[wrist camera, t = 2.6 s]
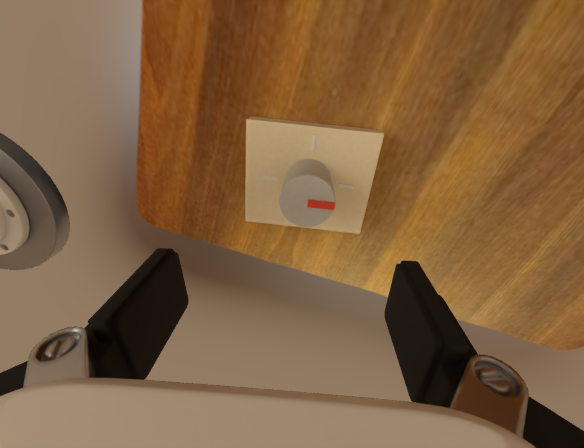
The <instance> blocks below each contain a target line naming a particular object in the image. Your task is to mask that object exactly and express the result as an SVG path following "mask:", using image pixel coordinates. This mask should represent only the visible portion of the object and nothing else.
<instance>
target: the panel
mask: <svg viewBox="0 0 584 448" xmlns="http://www.w3.org/2000/svg"><path fill="white" fill-rule="evenodd" d="M383 138H384V133H382V132H381V131H379V130H377V129H368V128H358V127H349V126H339V125H330V124H320V123H311V122H301V121H292V120H283V119H273V118H264V117H254V116H252V117H250V118H247V119H246V192H245V221H250V222H259V223H267V224H276V225H285V226H294V227H302V226H298V225H296V224H293V223H292V222H290V221H289V220H288V219H287V218H286V217H285V216H284V215H283V213H282V211H281V209H280V205H279V197H280V193H281V190H282V186H283V183H284V179H285V176H286V173H287V171H288V169H289V168H290V167H291V166H292V165H293V164H294V163H296V162H298V161H300V160H303V159H313V160H317V161H319V162H321V163H322V164H323V165H325V166H326V168H327V169H328V170H329V172H330V175H331V179H332V184H333V189H334V193H335V200H336V202H335V209H334V210H333V213H332V214H331V216H330V217H329V218H328V219H327V220H326V221H324V222H323V223H321V224H319V225H316V226H312V227H303V228H312V229H321V230H329V231H338V232H347V233H356V234H360V230H361V226H362V222H363V218H364V214H365V210H366V206H367V202H368V198H369V194H370V190H371V186H372V182H373V178H374V174H375V170H376V166H377V162H378V158H379V154H380V150H381V146H382V142H383Z"/></svg>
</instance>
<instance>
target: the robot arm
mask: <svg viewBox="0 0 584 448" xmlns="http://www.w3.org/2000/svg"><path fill="white" fill-rule="evenodd" d="M29 229H30V225H29V220H28V216H27V213H26V211H25V208H24V206H23V204H22V203H21V201H20V199H19V198H18V196H17V195H16V194H15V192H14V191H13V190H12V189H11V187H10V186H9V185H8V184H7V183H6V182H5V181H4V180H3V179H2V178H1V177H0V255H4V254H7V253H10V252H12V251H14V250H16V249H17V248H19V247H21V246H22V245H23V244H24V243H25V242H26V241H27V238H28V236H29ZM187 305H188V295H187V291H186V286H185V282H184V278H183V273H182V269H181V265H180V261H179V256H178V254H177V253H176V252H174V250H173V249H163V248H159V249H157V250H156V251H155V252H154V253H153V254H152V255H151V256H150V257H149V258H148V259H147V260H146V261H145V262H144V263H143V264H142V265H141V266H140V267H139V268H138V269H137V270H136V271H135V273H134V274H133V275H132V276H131V277H130V278H129V279H128V280H127V281H126V282H125V283H124V284H123V285H122V286H121V287H120V288H119V289H118V290H117V291H116V292H115V293H114V294H113V295H112V296H111V297H110V298H109V299H108V301H107V302H106V303H105V304H104V305H103V306H102V307H101V308H100V309H99V310H98V311H97V312H96V313H95V314H94V315H93V316H92V317H91V318H90V319H89V320H88V323H89V324H88V325H87V326H86V327H85V329H83V328H82V327H68V328H64V329H61V330H58V331H56V332H54V333H52V334H50V335H49V336H47V337H45V338H44V339H42V340H41V341H40V342H39V343H38V344H37V345H36V346H35V347H34V348H33V350H32V351H31V353H30V355H29V357H28V361H26V362H24V363H22V364H19V365H17V366H15V367H13V368H11V369H9V370H6V371H4V372H2V373H0V448H584V431H583V430H581V429H579V428H578V427H576V426H575V425H573V424H572V423H570V422H568V421H567V420H565V419H564V418H562V417H560V416H559V415H557V414H556V413H554V412H553V411H551V410H550V409H548V408H546V407H545V406H543V405H542V404H540V403H538V402H537V401H535V400H534V399H532V398H531V397H529V393H528V388H527V386H526V383H525V381H524V380H523V379H522V378H521V376H520V375H519V374H518V373H517V372H516V371H515V370H514V369H513V368H512V367H510V366H509V365H507V364H506V363H504V362H503V361H501V360H498V359H497V358H494V357H492V356H487V355H478V354H477V352H476V351H475V349H474V348H473V346H472V344H471V343H470V341H469V339H468V338H467V336H466V335H465V333H464V331H463V330H462V328H461V326H460V325H459V323H458V322H457V320H456V318H455V317H454V315H453V314H452V312H451V310H450V309H449V307H448V305H447V304H446V302H445V301H444V299H443V298H442V297H441V296H440V295H438V294H437V292H436V291H435V289H434V287H433V286H432V284H431V283H430V281H429V279H428V278H427V276H426V274H425V273H424V271H423V269H422V268H421V266H420V264H419V263H418V262H417V261H402V262H401V263H400V264H397V265H396V268H395V272H394V276H393V280H392V284H391V288H390V292H389V296H388V300H387V304H386V308H385V320H386V323H387V326H388V329H389V333H390V336H391V339H392V342H393V345H394V348H395V352H396V355H397V358H398V361H399V365H400V367H401V370H402V374H403V377H404V380H405V384H406V387H407V390H408V393H409V396H410V399H411V401H412V402H405V401H396V400H386V399H375V398H366V397H354V396H343V395H330V394H319V393H306V392H296V391H283V390H271V389H258V388H245V387H233V386H220V385H207V384H193V383H180V382H166V381H153V380H144V379H145V378H146V377H147V375H148V374H149V372H150V371H151V369H152V367H153V365H154V364H155V362H156V360H157V358H158V357H159V355H160V353H161V351H162V350H163V348H164V346H165V344H166V343H167V341H168V339H169V337H170V336H171V334H172V332H173V330H174V329H175V327H176V325H177V323H178V322H179V320H180V318H181V316H182V315H183V313H184V311H185V309H186V308H187ZM415 402H416V403H415Z"/></svg>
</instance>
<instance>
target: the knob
mask: <svg viewBox="0 0 584 448" xmlns="http://www.w3.org/2000/svg"><path fill="white" fill-rule="evenodd" d="M335 202H336V200H335V193H334V189H333V184H332V179H331V175H330V172H329V170H328V169H327V168H326V166H325V165H323V164H322V163H321V162H319V161H317V160H313V159H303V160H300V161H298V162H296V163H294V164H293V165H292V166H291V167H290V168H289V169H288V171H287V173H286V176H285V179H284V183H283V186H282V190H281V193H280V197H279V205H280V209H281V211H282V213H283V215H284V216H285V217H286V218H287V219H288V220H289V221H290V222H292V223H293V224H296V225H298V226H302V227H312V226H316V225H319V224H321V223H323V222H324V221H326V220H327V219H328V218H329V217H330V216H331V214H332V213H333V210H334V209H335Z"/></svg>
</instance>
